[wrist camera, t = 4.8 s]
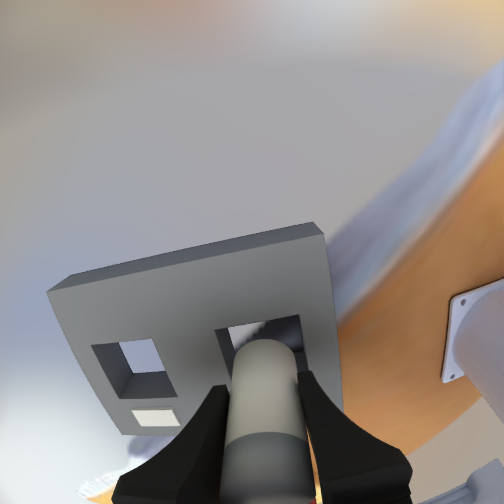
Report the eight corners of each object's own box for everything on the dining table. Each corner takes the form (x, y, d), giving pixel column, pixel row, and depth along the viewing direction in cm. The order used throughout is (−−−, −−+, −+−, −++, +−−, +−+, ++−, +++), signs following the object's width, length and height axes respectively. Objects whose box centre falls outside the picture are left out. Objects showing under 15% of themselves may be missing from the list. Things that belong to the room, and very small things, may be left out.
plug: (290, 333, 15) (313, 472, 7) (298, 381, 16) (318, 508, 8) (227, 344, 15) (206, 481, 7) (241, 389, 16) (232, 517, 8)
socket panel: (312, 221, 17) (324, 235, 14) (335, 386, 20) (344, 417, 17) (70, 275, 18) (43, 293, 15) (133, 409, 21) (120, 437, 18)
